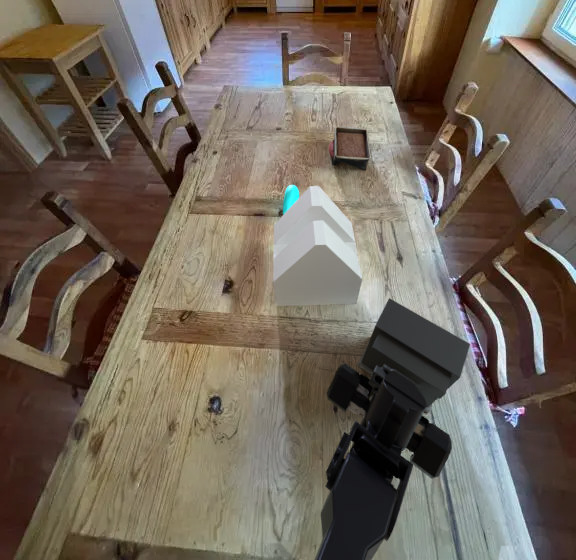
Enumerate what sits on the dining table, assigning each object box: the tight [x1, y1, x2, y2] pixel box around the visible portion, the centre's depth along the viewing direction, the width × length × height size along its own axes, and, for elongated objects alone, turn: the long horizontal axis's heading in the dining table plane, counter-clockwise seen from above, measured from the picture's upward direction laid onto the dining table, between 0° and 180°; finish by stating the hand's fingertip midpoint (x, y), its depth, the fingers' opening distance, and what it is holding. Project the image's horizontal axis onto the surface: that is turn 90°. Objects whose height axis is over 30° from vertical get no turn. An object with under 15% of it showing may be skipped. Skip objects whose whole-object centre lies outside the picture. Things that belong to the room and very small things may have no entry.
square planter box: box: [328, 126, 373, 171], centre depth 116 cm, size 14×18×10 cm
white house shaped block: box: [272, 185, 363, 307], centre depth 78 cm, size 19×15×25 cm
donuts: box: [282, 184, 300, 216], centre depth 98 cm, size 10×10×10 cm
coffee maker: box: [357, 297, 471, 414], centre depth 63 cm, size 10×15×20 cm, turn 55°
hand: (392, 392), depth 62 cm, fingers closed on cork, 5 cm apart
